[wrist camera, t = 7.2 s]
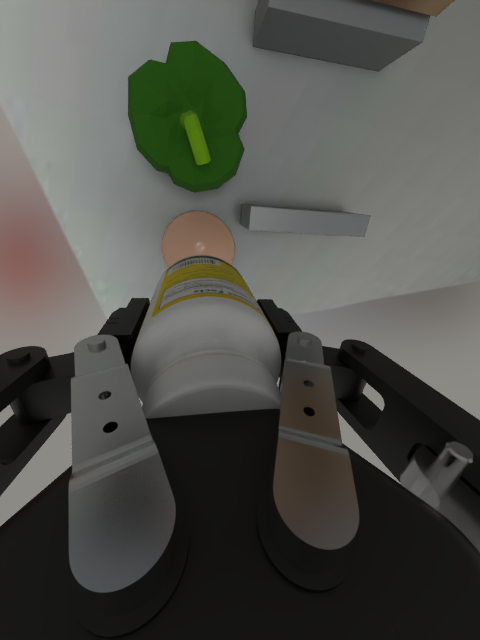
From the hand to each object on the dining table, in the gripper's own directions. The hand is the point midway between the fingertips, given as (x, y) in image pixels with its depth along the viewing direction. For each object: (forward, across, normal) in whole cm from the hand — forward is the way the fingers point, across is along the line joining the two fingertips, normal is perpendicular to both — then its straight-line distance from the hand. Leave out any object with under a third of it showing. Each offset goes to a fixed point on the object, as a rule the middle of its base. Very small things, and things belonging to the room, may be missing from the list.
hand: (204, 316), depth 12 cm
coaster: (+17, 0, 0) cm, 17 cm away
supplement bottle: (+3, 0, 0) cm, 3 cm away
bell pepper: (+17, +1, -10) cm, 20 cm away
